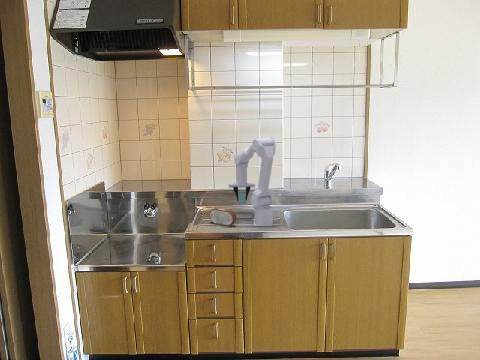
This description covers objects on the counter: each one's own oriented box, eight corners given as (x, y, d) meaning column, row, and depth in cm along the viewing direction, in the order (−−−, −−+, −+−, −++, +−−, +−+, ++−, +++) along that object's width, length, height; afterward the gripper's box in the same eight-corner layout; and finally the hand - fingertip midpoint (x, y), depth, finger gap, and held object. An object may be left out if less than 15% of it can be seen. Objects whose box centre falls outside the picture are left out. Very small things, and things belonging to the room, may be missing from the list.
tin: (236, 225, 198) (236, 209, 196) (233, 227, 195) (233, 211, 193) (212, 221, 205) (211, 206, 204) (208, 223, 202) (208, 207, 201)
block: (245, 202, 218) (245, 191, 217) (245, 203, 214) (245, 193, 213) (238, 202, 218) (238, 191, 217) (238, 203, 214) (238, 193, 213)
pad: (252, 215, 216) (252, 214, 216) (252, 219, 209) (252, 217, 208) (235, 215, 217) (235, 214, 216) (235, 219, 209) (235, 218, 209)
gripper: (254, 174, 217) (255, 198, 220) (228, 175, 218) (229, 198, 220) (255, 176, 210) (255, 201, 213) (228, 177, 211) (228, 201, 213)
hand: (242, 200), depth 216 cm, fingers closed on block, 4 cm apart
